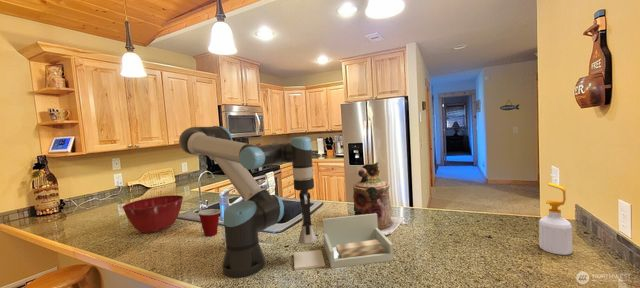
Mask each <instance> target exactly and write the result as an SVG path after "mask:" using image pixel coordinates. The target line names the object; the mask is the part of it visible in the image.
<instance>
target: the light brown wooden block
mask: <svg viewBox="0 0 640 288" xmlns="http://www.w3.org/2000/svg"><path fill="white" fill-rule="evenodd" d="M335 248H336V249H335V250H336V251H337V259H340V258H348V257H357V256H365V255H374V254H382V253H384V252H383V248H382V247H381V243H380V242H379V241H378V240H377V239H376V240H369V241H362V242H355V243H348V244H341V245H336V247H335Z"/></svg>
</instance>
